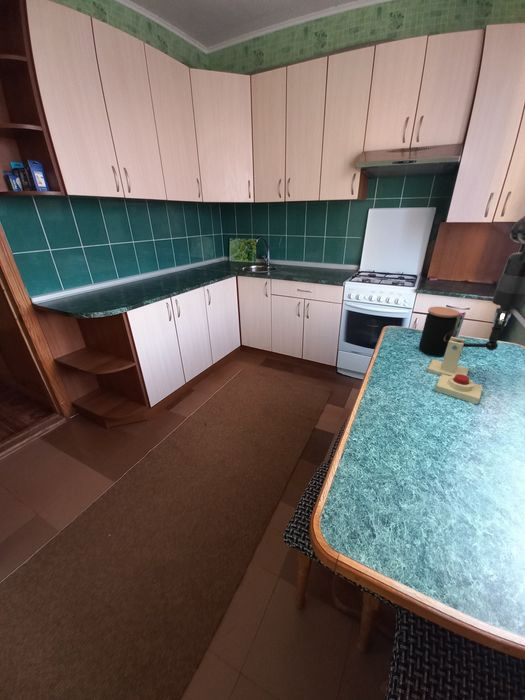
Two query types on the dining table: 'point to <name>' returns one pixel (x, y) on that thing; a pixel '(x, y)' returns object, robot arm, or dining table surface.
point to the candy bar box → (458, 323)
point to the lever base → (449, 360)
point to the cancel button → (461, 379)
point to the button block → (459, 389)
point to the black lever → (481, 345)
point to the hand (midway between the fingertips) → (492, 341)
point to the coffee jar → (438, 330)
